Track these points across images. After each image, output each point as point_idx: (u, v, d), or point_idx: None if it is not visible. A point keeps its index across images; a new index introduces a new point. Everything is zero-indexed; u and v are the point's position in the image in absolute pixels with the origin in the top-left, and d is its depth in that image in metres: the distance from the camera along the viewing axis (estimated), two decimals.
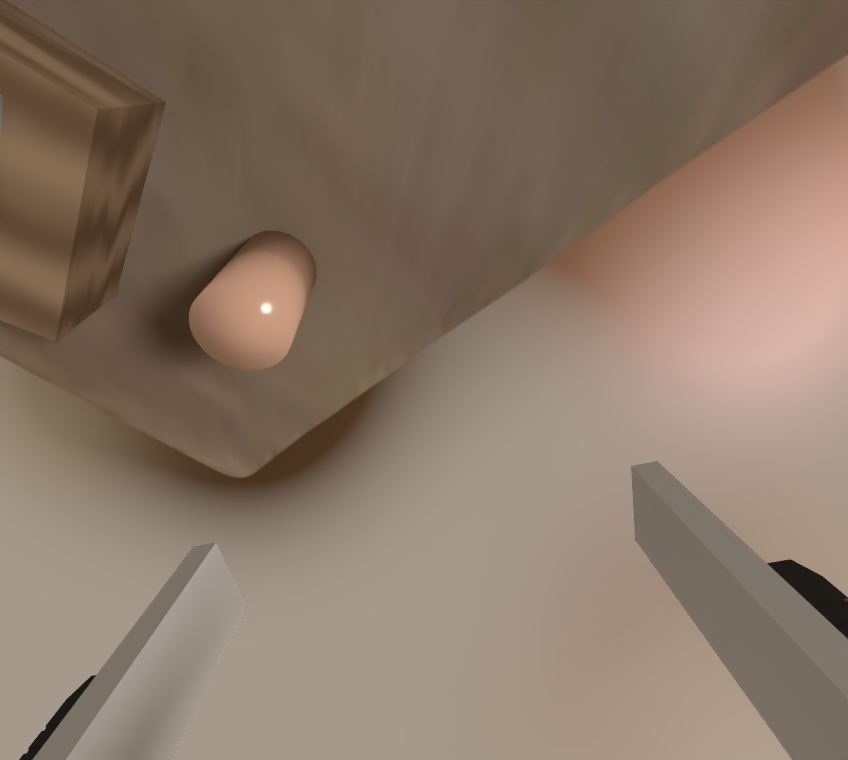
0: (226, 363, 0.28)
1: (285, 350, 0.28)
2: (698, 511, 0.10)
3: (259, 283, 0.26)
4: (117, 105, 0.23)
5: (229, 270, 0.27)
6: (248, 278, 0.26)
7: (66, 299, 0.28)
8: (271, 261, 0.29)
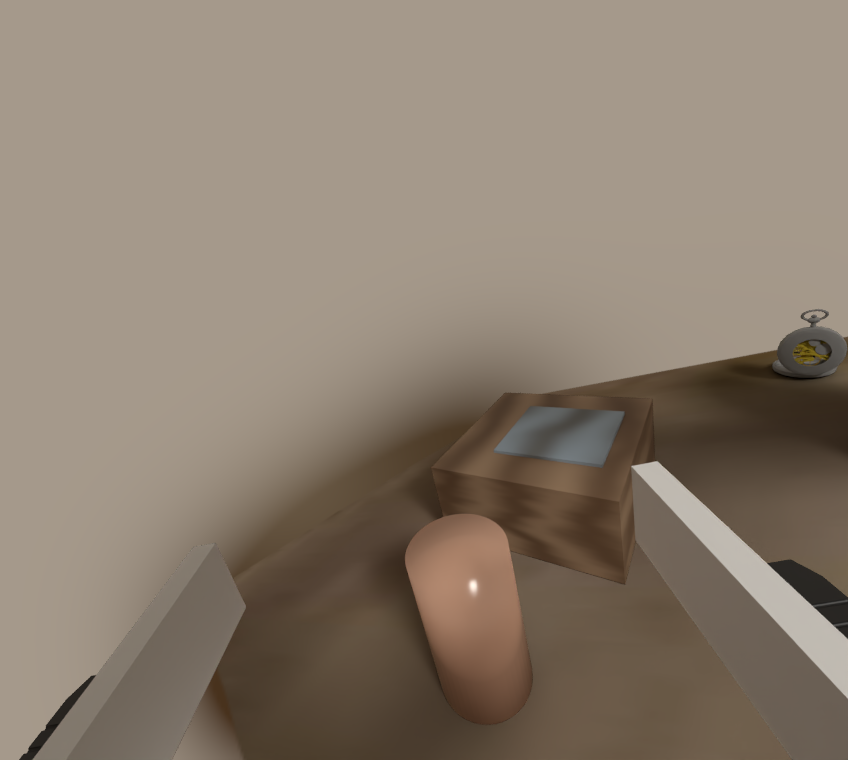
0: (416, 536, 0.26)
1: (429, 586, 0.22)
2: (698, 511, 0.10)
3: (508, 574, 0.23)
4: (621, 524, 0.30)
5: None
6: (511, 567, 0.24)
7: (463, 477, 0.38)
8: (518, 618, 0.24)
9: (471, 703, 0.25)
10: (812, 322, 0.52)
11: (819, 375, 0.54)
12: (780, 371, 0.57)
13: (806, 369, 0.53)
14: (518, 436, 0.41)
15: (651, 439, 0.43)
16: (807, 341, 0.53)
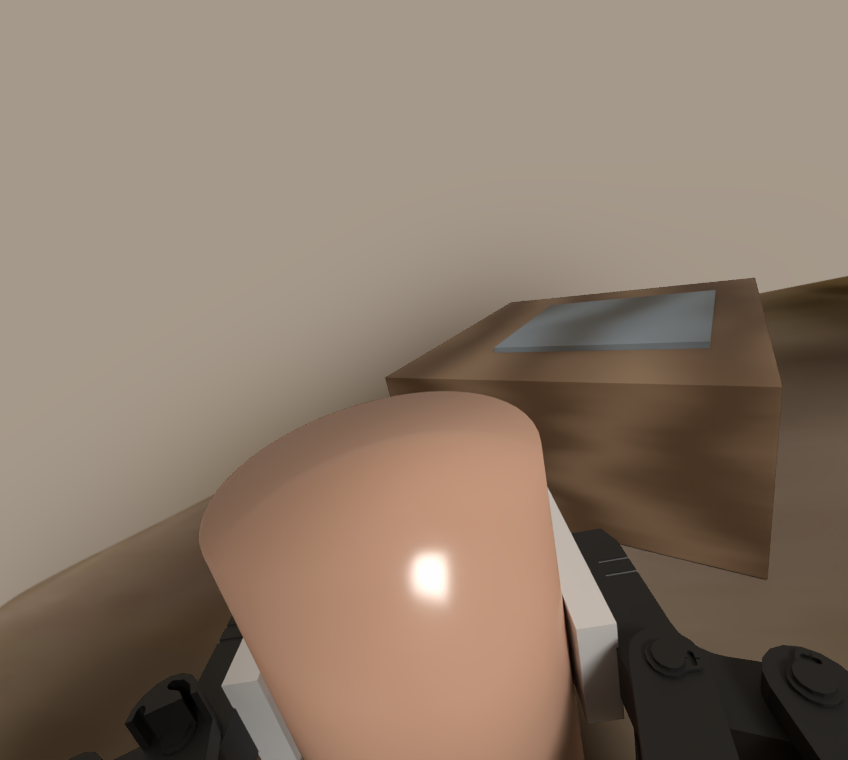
0: (281, 439, 0.10)
1: (238, 568, 0.06)
2: None
3: (543, 529, 0.07)
4: (777, 445, 0.14)
5: None
6: (549, 511, 0.07)
7: (440, 386, 0.21)
8: (566, 676, 0.08)
9: None
10: None
11: None
12: None
13: None
14: (535, 331, 0.24)
15: None
16: None
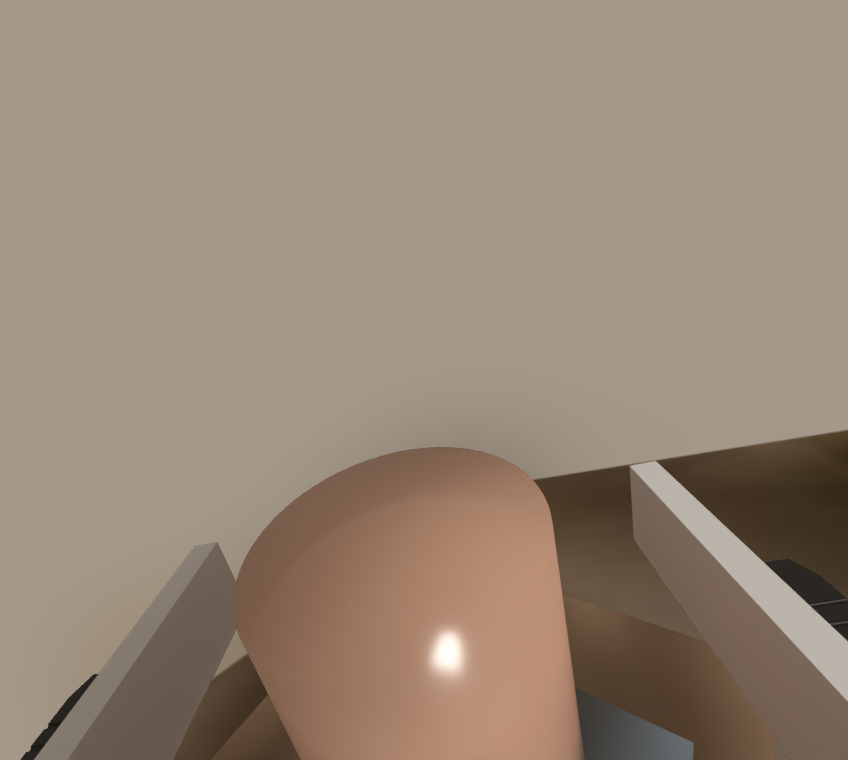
0: (302, 498, 0.10)
1: (275, 655, 0.06)
2: (696, 511, 0.10)
3: (554, 608, 0.07)
4: None
5: None
6: (559, 584, 0.08)
7: None
8: (575, 735, 0.08)
9: None
10: None
11: None
12: None
13: None
14: None
15: None
16: None
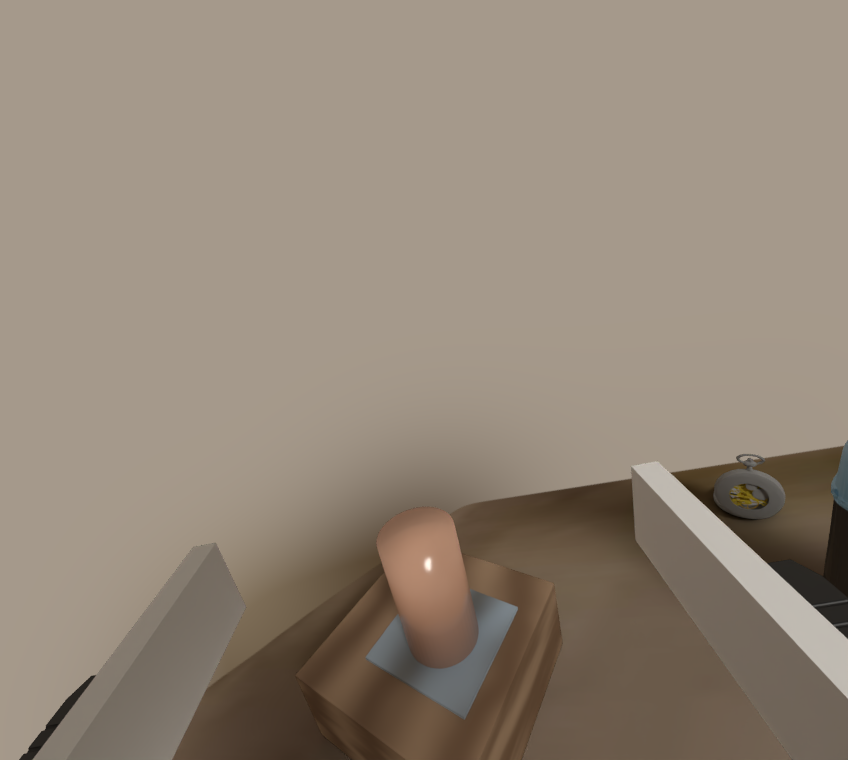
0: (386, 524, 0.34)
1: (393, 560, 0.30)
2: (698, 511, 0.10)
3: (453, 551, 0.31)
4: None
5: None
6: (456, 546, 0.31)
7: (323, 699, 0.33)
8: (462, 586, 0.32)
9: (427, 651, 0.32)
10: (748, 466, 0.47)
11: None
12: (719, 505, 0.52)
13: (744, 512, 0.49)
14: (398, 634, 0.36)
15: (552, 629, 0.38)
16: (744, 483, 0.48)
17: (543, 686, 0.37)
